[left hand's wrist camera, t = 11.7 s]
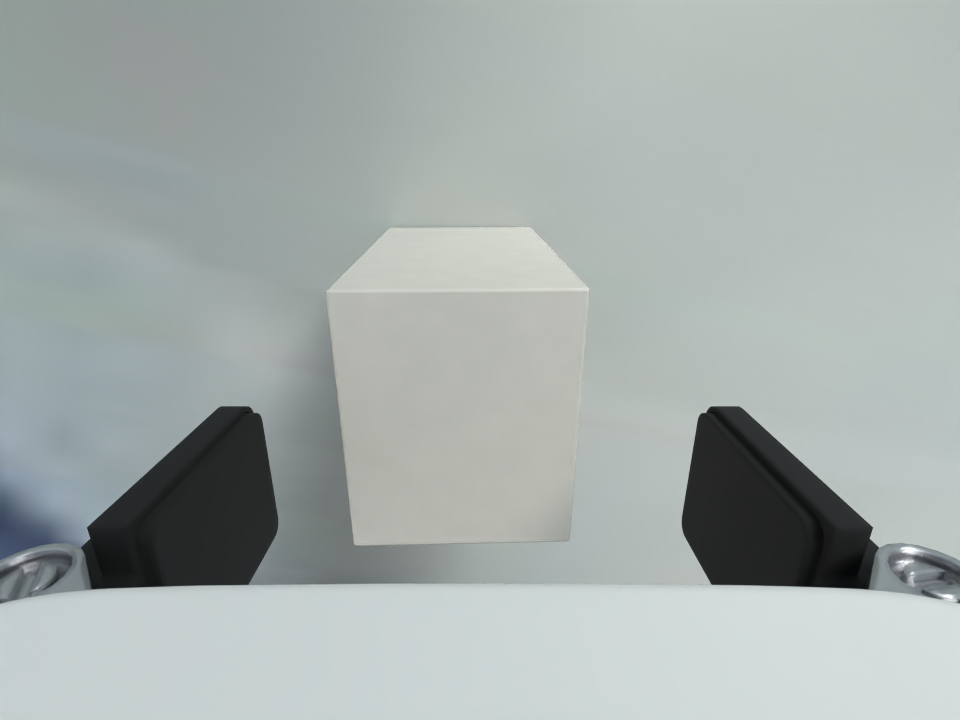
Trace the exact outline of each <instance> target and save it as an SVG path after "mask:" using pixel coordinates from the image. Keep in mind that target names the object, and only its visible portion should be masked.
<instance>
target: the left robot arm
mask: <svg viewBox="0 0 960 720" xmlns="http://www.w3.org/2000/svg"><path fill="white" fill-rule="evenodd" d="M87 529H88V532H89V535H90V538H91V539H90V540H89V541H88V542H87V543H85V544H84V545H83V546H82V547H81V548H80V547H77V546H75V545H73V544H62V543H57V544H49V545H42V546H38V547H35V548H31V549H28V550H24V551H22V552H19V553H17V554H14V555H12V556H9V557H7V558H5V559H3V560H1V561H0V720H960V561H959V560H957V559H955V558H953V557H951V556H948V555H946V554H943V553H941V552H938V551H936V550H932V549H929V548H925V547H922V546H918V545H911V544H903V543H898V544H887V545H885V546H883V547H880V548H879V547H878V546H877V545H876V544H875V543H873V542H872V541H871V540H870V539H869V538H870V535H871V532H872V529H873V527H872V526H871V525H870V524H868V523H867V522H866V521H865V520H864V519H863V518H862V517H861V516H860V515H859V514H857V513H856V512H855V511H854V510H853V509H852V508H851V507H850V506H849V505H848V504H847V503H845V502H844V501H843V500H842V499H841V498H840V497H839V496H838V495H837V494H836V493H834V492H833V491H832V490H831V489H830V488H829V487H828V486H827V485H826V484H825V483H823V482H822V481H821V480H820V479H819V478H818V477H817V476H816V475H815V474H814V473H813V472H811V471H810V470H809V469H808V468H807V467H806V466H805V465H804V464H803V463H802V462H800V461H799V460H798V459H797V458H796V457H795V456H794V455H793V454H792V453H791V452H789V451H788V450H787V449H786V448H785V447H784V446H783V445H782V444H781V443H780V442H778V441H777V440H776V439H775V438H774V437H773V436H772V435H771V434H770V433H769V432H768V431H766V430H765V429H764V428H763V427H762V426H761V425H760V424H759V423H758V422H757V421H755V420H754V419H753V418H752V417H751V416H750V415H749V414H748V413H747V412H746V411H744V410H743V409H742V408H741V407H739V406H714V407H710V408H709V409H708V411H707V412H706V413H702V414H700V416H699V418H698V423H697V429H696V435H695V441H694V447H693V453H692V460H691V466H690V472H689V478H688V484H687V490H686V496H685V503H684V509H683V515H682V529H683V533H684V536H685V538H686V540H687V541H688V543H689V545H690V547H691V548H692V550H693V552H694V554H695V556H696V557H697V559H698V561H699V563H700V565H701V566H702V568H703V570H704V572H705V574H706V575H707V577H708V579H709V581H710V583H711V584H712V585H657V584H545V583H430V584H301V585H248V584H249V583H250V581H251V579H252V577H253V575H254V574H255V572H256V570H257V568H258V566H259V565H260V563H261V561H262V559H263V557H264V556H265V554H266V552H267V550H268V548H269V547H270V545H271V543H272V541H273V540H274V538H275V536H276V533H277V529H278V515H277V509H276V503H275V496H274V490H273V484H272V478H271V472H270V466H269V460H268V453H267V447H266V441H265V435H264V429H263V423H262V418H261V416H260V414H258V413H254V412H253V411H252V409H251V408H250V407H246V406H221V407H219V408H218V409H217V410H216V411H214V412H213V413H212V414H211V415H210V416H209V417H208V418H207V419H206V420H205V421H203V422H202V423H201V424H200V425H199V426H198V427H197V428H196V429H195V430H194V431H192V432H191V433H190V434H189V435H188V436H187V437H186V438H185V439H184V440H183V441H182V442H180V443H179V444H178V445H177V446H176V447H175V448H174V449H173V450H172V451H171V452H169V453H168V454H167V455H166V456H165V457H164V458H163V459H162V460H161V461H160V462H158V463H157V464H156V465H155V466H154V467H153V468H152V469H151V470H150V471H149V472H147V473H146V474H145V475H144V476H143V477H142V478H141V479H140V480H139V481H138V482H137V483H135V484H134V485H133V486H132V487H131V488H130V489H129V490H128V491H127V492H126V493H124V494H123V495H122V496H121V497H120V498H119V499H118V500H117V501H116V502H115V503H113V504H112V505H111V506H110V507H109V508H108V509H107V510H106V511H105V512H104V513H103V514H101V515H100V516H99V517H98V518H97V519H96V520H95V521H94V522H93V523H92V524H90V525H89V526H88V527H87Z"/></svg>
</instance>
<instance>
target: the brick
mask: <svg viewBox="0 0 960 720" xmlns="http://www.w3.org/2000/svg"><path fill="white" fill-rule="evenodd" d="M326 300H327V309H328V318H329V327H330V336H331V345H332V354H333V362H334V371H335V380H336V389H337V398H338V407H339V416H340V425H341V434H342V443H343V452H344V461H345V470H346V479H347V488H348V497H349V505H350V514H351V523H352V532H353V541H354V545H355V546H376V545H422V544H468V543H514V542H560V541H569V539H570V529H571V516H572V504H573V491H574V479H575V466H576V454H577V441H578V429H579V416H580V404H581V391H582V379H583V366H584V354H585V341H586V329H587V316H588V304H589V288H588V287H587V286H586V285H585V284H584V283H583V282H582V281H581V280H580V279H579V278H578V277H577V276H576V275H575V274H574V273H573V272H572V270H571V269H570V268H569V267H568V266H567V265H566V264H565V263H564V262H563V261H562V260H561V259H560V258H559V257H558V256H557V255H556V254H555V253H554V252H553V250H552V249H551V248H550V247H549V246H548V245H547V244H546V243H545V242H544V241H543V240H542V239H541V238H540V237H539V236H538V235H537V234H536V233H535V232H534V231H533V229H532V228H530V227H425V228H389V229H388V230H387V231H386V232H385V233H384V234H383V235H382V236H381V237H380V238H379V239H378V240H377V241H376V242H375V243H374V244H373V245H372V246H371V247H370V248H369V249H368V250H367V251H366V252H365V253H364V254H363V255H362V256H361V257H360V258H359V259H358V260H357V261H356V262H355V263H354V264H353V265H352V266H351V267H350V268H349V269H348V270H347V271H346V272H345V273H344V274H343V275H342V276H341V277H340V278H339V279H338V280H337V281H335V282H334V283H333V284H332V285H331V286H330V287H329V288H328V289H327V290H326Z"/></svg>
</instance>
